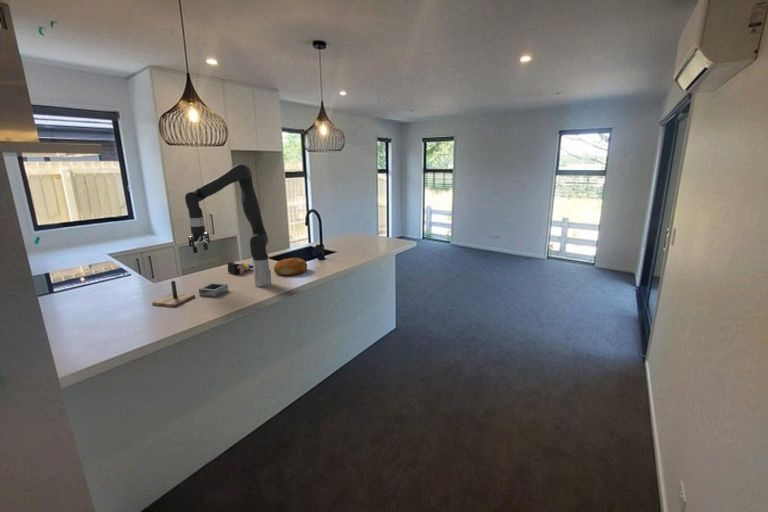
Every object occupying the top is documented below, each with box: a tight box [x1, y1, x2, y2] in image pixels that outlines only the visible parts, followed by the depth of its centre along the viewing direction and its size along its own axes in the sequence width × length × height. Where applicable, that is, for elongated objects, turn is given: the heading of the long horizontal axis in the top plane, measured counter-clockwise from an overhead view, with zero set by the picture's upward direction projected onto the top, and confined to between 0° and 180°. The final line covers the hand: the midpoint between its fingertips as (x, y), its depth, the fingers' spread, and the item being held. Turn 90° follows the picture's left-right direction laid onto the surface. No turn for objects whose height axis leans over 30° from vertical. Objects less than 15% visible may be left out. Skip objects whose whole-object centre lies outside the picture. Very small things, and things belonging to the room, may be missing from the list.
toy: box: [227, 261, 253, 275], centre depth 245 cm, size 12×7×15 cm
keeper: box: [151, 280, 196, 308], centre depth 190 cm, size 14×15×12 cm
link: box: [198, 282, 229, 298], centre depth 204 cm, size 11×11×4 cm
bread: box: [273, 257, 308, 276], centre depth 246 cm, size 23×23×10 cm
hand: (200, 251), depth 208 cm, fingers open, 8 cm apart
